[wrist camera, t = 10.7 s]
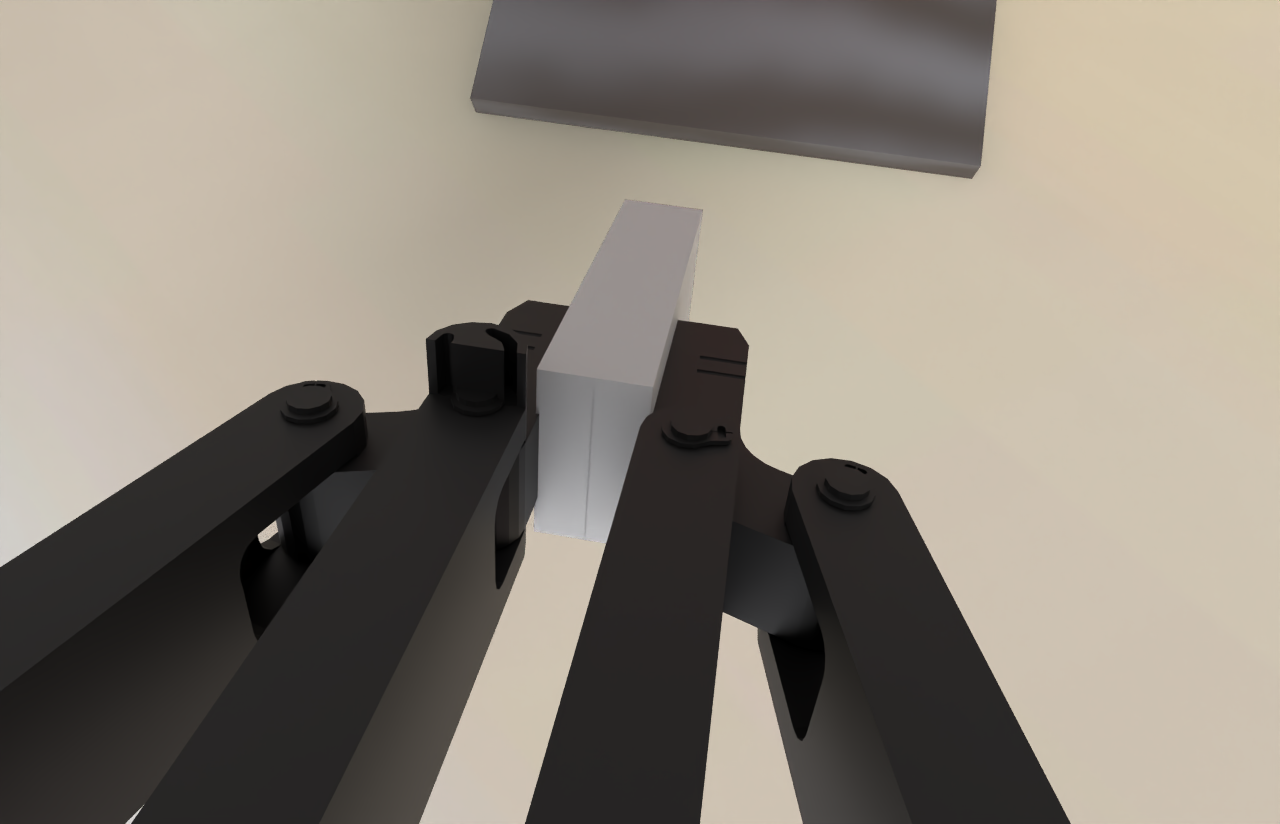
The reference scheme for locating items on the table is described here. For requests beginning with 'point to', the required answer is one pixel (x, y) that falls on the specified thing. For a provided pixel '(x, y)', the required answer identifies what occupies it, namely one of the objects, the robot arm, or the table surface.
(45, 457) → the table surface
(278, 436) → the robot arm
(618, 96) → the housing
